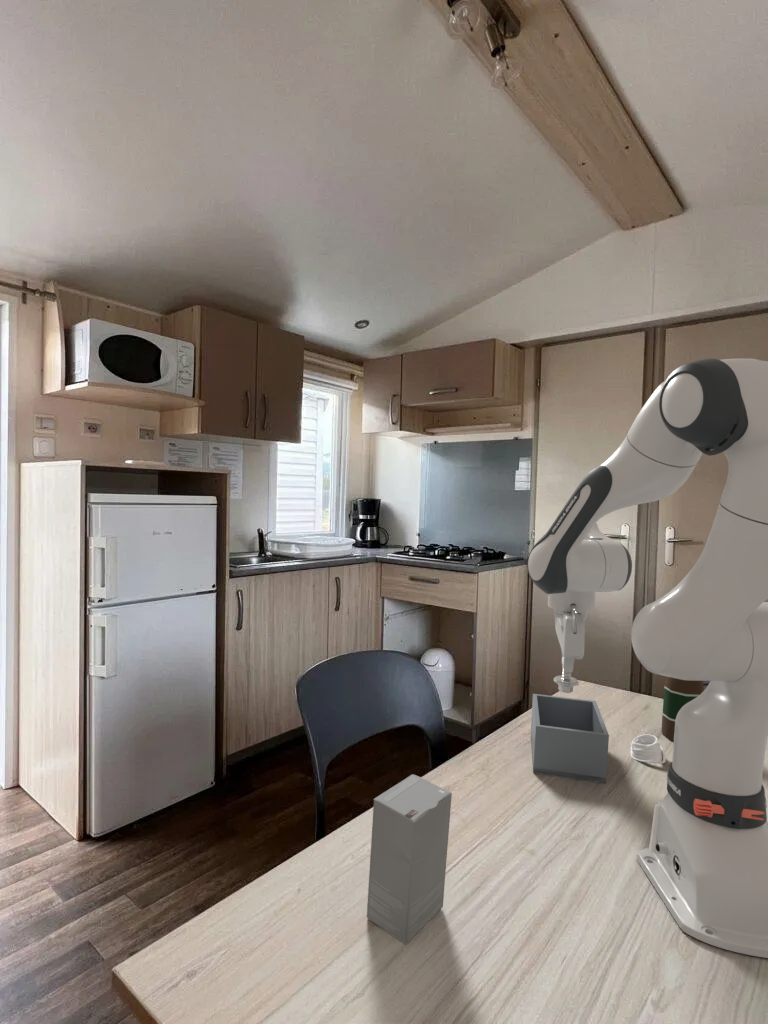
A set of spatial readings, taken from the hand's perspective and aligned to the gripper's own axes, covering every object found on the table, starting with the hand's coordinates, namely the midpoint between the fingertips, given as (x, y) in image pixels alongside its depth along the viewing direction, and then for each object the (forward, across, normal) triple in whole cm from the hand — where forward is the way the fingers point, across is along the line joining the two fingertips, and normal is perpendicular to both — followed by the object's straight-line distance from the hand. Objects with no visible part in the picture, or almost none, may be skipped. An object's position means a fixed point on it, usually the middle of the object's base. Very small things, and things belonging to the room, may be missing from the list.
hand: (567, 668), depth 118 cm
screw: (+5, 0, 0) cm, 5 cm away
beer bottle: (+18, +18, -27) cm, 37 cm away
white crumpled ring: (+18, +5, -17) cm, 26 cm away
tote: (+18, +1, -1) cm, 18 cm away
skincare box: (+18, -51, +23) cm, 59 cm away
